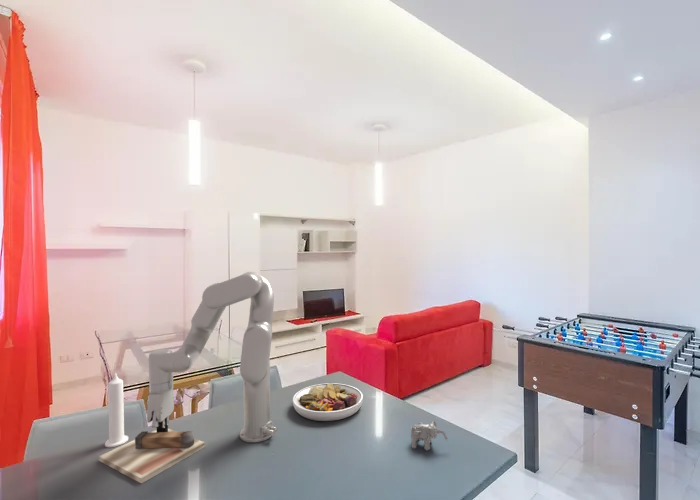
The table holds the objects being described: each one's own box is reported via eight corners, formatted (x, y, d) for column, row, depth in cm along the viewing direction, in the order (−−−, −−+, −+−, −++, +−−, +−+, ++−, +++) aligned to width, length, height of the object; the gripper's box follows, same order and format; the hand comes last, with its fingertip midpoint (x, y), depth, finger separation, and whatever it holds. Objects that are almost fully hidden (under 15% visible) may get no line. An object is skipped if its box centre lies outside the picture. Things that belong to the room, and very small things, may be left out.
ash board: (205, 446, 123) (205, 442, 123) (141, 483, 104) (141, 478, 104) (163, 430, 135) (163, 426, 135) (99, 460, 116) (99, 456, 116)
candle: (116, 448, 123) (115, 376, 123) (99, 446, 125) (98, 375, 125) (133, 437, 130) (131, 369, 130) (116, 436, 131) (115, 368, 131)
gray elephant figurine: (409, 439, 127) (408, 417, 127) (443, 437, 126) (442, 416, 126) (413, 454, 117) (411, 431, 117) (449, 452, 117) (448, 429, 117)
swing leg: (196, 440, 124) (196, 429, 124) (191, 447, 120) (190, 436, 120) (142, 442, 124) (142, 431, 124) (135, 449, 119) (134, 437, 119)
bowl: (278, 412, 149) (277, 393, 149) (323, 388, 174) (322, 372, 174) (334, 432, 132) (334, 411, 132) (376, 403, 157) (375, 385, 157)
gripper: (162, 378, 133) (163, 427, 133) (138, 394, 118) (139, 449, 118) (182, 377, 133) (183, 426, 133) (160, 394, 118) (161, 449, 118)
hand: (162, 437), depth 126 cm, fingers closed
